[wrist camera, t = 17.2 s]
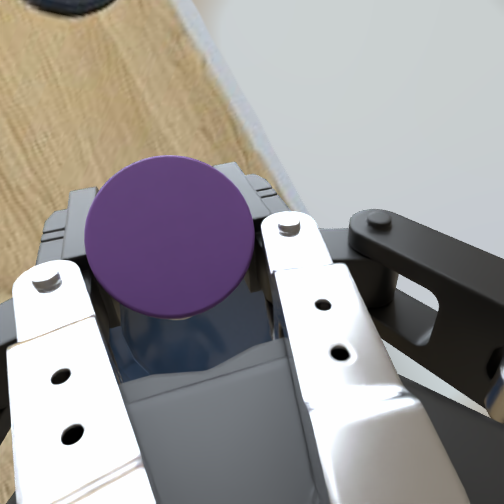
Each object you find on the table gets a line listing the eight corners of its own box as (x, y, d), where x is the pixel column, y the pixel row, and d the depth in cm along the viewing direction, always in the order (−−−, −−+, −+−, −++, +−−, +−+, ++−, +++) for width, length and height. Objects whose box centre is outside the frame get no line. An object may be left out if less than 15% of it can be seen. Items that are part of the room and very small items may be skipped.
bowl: (322, 267, 35) (352, 254, 29) (247, 446, 30) (265, 471, 25) (161, 184, 33) (159, 153, 28) (59, 358, 29) (32, 363, 23)
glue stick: (147, 331, 17) (102, 339, 7) (130, 256, 18) (67, 169, 8) (223, 311, 18) (273, 294, 8) (205, 239, 18) (232, 141, 9)
